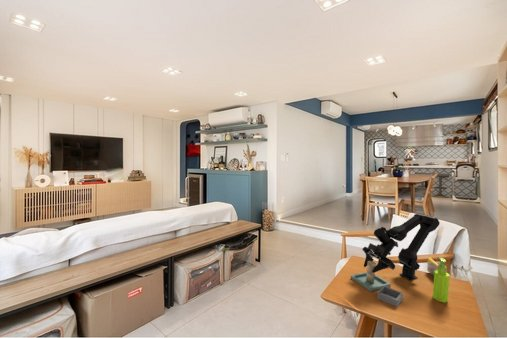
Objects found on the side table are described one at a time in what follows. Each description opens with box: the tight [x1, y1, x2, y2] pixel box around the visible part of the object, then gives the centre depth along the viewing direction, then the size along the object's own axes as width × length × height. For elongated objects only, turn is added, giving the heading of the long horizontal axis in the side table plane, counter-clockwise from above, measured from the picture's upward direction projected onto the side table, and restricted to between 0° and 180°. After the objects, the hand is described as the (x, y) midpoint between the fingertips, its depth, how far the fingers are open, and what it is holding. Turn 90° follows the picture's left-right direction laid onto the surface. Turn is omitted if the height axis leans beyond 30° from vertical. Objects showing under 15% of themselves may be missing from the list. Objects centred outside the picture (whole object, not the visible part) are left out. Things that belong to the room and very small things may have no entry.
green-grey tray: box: [350, 271, 392, 292], centre depth 131 cm, size 14×14×2 cm
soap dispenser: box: [432, 256, 451, 303], centre depth 117 cm, size 6×7×20 cm
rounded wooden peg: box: [366, 260, 377, 284], centre depth 131 cm, size 4×4×11 cm
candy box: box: [426, 257, 439, 277], centre depth 138 cm, size 16×2×8 cm, turn 168°
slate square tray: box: [376, 286, 404, 308], centre depth 116 cm, size 9×9×4 cm
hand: (368, 269), depth 130 cm, fingers open, 6 cm apart
